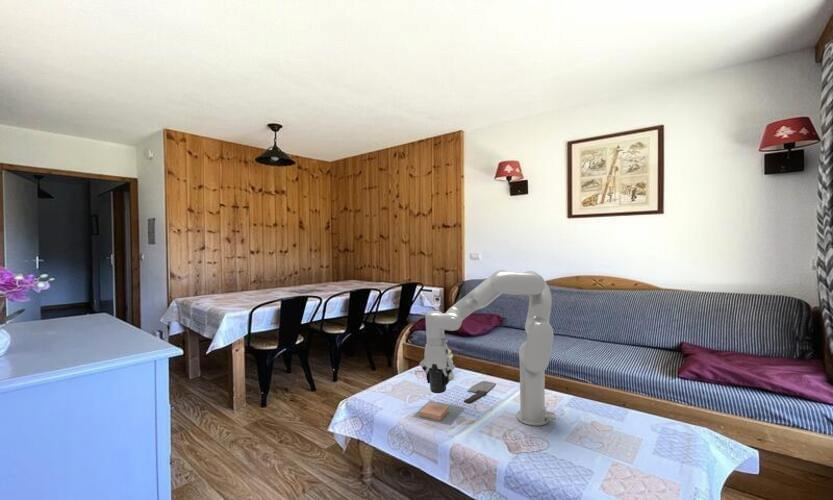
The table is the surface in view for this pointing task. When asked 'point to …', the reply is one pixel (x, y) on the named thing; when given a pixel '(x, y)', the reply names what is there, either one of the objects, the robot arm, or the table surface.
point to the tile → (434, 411)
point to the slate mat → (448, 418)
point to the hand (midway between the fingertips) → (437, 382)
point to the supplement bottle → (436, 379)
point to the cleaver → (479, 391)
